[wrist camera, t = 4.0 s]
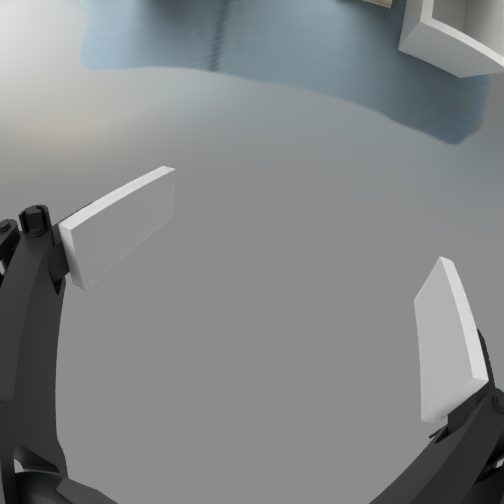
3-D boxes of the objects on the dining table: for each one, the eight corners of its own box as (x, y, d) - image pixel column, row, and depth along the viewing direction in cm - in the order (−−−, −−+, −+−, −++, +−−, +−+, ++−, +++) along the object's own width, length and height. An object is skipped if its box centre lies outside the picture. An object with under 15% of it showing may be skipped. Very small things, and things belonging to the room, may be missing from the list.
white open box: (459, 78, 32) (511, 72, 16) (397, 50, 34) (419, 21, 18) (470, 1, 21) (514, -33, 5) (409, -27, 24) (428, -78, 8)
